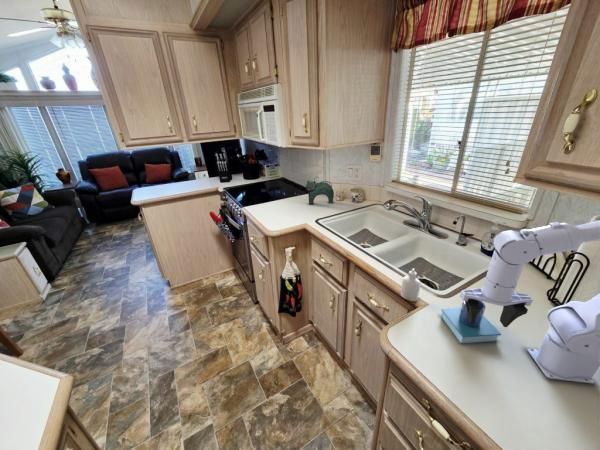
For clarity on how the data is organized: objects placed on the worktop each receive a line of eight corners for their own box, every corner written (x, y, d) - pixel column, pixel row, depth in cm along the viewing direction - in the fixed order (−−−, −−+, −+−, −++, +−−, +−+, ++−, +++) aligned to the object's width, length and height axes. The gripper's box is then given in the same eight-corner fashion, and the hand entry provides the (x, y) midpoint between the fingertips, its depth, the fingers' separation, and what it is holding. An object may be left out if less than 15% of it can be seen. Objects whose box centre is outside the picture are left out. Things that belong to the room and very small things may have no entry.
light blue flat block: (473, 313, 79) (475, 306, 78) (498, 341, 69) (501, 334, 68) (439, 316, 79) (441, 308, 78) (460, 344, 69) (462, 336, 68)
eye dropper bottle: (407, 290, 91) (411, 263, 86) (420, 300, 86) (425, 271, 81) (398, 294, 89) (402, 266, 84) (410, 304, 84) (414, 275, 79)
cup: (475, 314, 75) (480, 297, 72) (483, 328, 70) (489, 310, 67) (456, 313, 76) (460, 296, 73) (463, 326, 71) (468, 309, 68)
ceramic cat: (306, 205, 180) (305, 178, 172) (306, 202, 186) (305, 176, 177) (334, 203, 180) (334, 176, 171) (333, 200, 185) (332, 174, 177)
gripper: (525, 271, 61) (509, 313, 66) (460, 268, 63) (450, 309, 69) (546, 290, 54) (526, 335, 60) (472, 286, 57) (460, 329, 63)
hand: (486, 322), depth 64 cm, fingers open, 7 cm apart
